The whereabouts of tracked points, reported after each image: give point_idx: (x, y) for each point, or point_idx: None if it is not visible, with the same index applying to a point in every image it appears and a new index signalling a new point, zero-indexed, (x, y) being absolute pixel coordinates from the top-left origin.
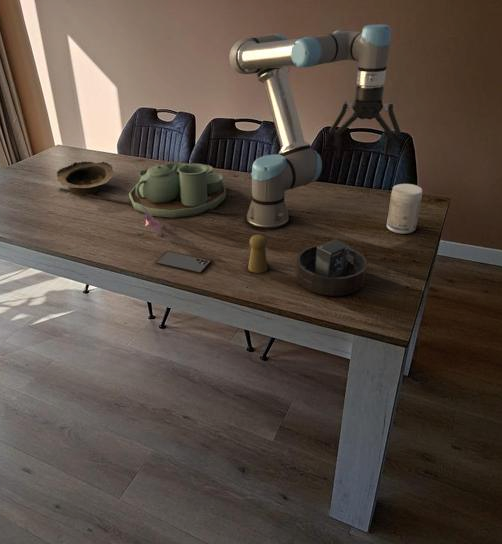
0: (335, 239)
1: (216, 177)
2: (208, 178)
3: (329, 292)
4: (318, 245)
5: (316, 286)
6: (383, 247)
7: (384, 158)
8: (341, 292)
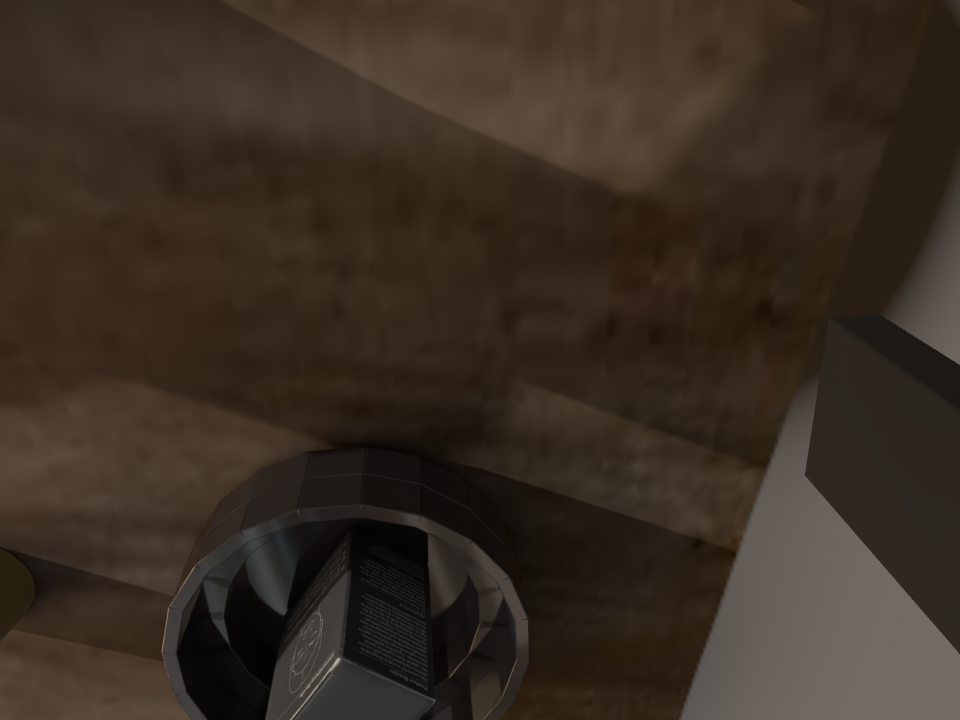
0: (342, 664)
1: None
2: None
3: None
4: (241, 538)
5: None
6: (611, 191)
7: (833, 491)
8: None
